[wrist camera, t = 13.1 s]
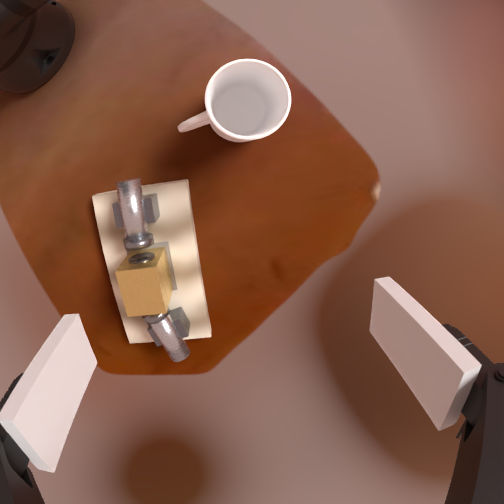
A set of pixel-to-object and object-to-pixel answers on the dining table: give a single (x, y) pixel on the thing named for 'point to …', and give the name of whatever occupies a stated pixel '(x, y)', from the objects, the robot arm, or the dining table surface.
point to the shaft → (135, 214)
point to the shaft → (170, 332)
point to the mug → (244, 101)
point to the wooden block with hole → (145, 282)
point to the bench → (177, 248)
